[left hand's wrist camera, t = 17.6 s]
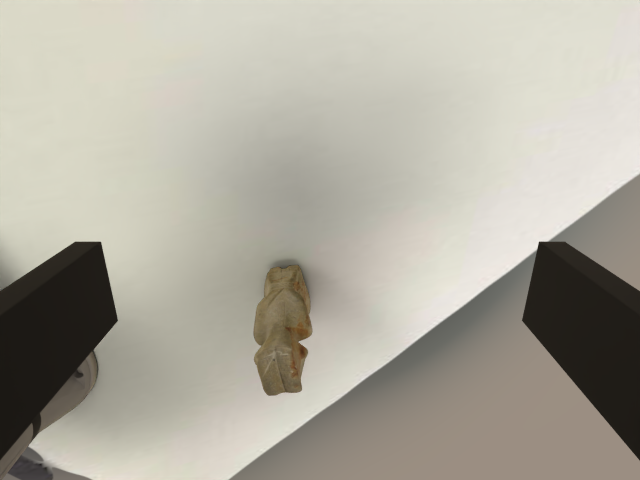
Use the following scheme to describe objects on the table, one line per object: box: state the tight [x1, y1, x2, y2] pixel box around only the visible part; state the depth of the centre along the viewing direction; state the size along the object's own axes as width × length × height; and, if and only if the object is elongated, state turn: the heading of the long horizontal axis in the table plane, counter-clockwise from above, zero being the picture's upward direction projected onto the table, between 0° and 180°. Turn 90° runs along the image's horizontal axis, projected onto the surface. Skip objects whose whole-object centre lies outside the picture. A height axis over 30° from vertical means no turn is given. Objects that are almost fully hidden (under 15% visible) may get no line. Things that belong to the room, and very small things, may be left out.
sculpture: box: [254, 265, 312, 396], centre depth 41 cm, size 6×7×15 cm
